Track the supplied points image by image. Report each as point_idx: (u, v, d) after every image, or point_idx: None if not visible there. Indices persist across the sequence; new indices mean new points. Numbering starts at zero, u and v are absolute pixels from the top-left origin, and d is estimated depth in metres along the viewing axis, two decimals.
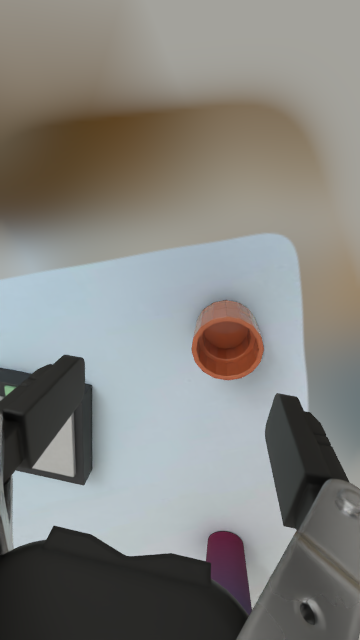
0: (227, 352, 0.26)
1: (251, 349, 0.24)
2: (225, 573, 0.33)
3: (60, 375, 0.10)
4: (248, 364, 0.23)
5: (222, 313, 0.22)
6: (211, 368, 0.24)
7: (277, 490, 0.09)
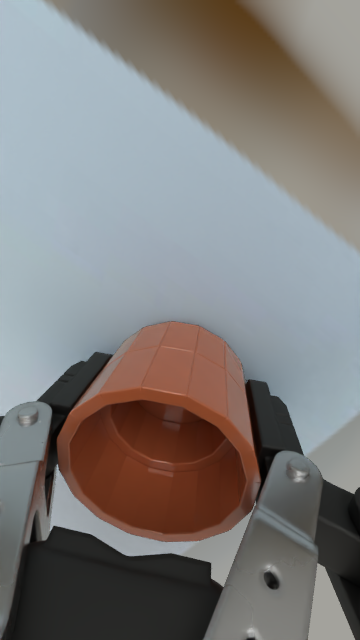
0: (144, 426, 0.12)
1: (193, 470, 0.10)
2: None
3: (96, 371, 0.10)
4: (167, 512, 0.09)
5: (217, 390, 0.07)
6: (85, 466, 0.09)
7: None
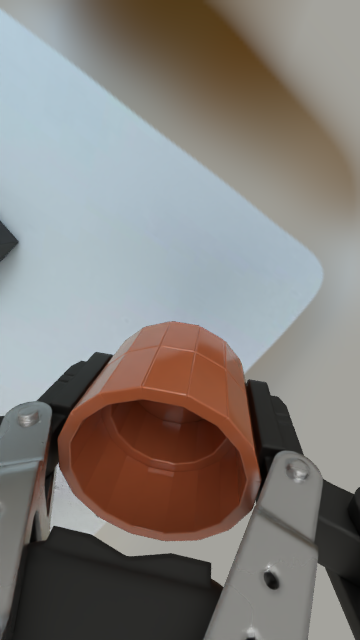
0: (145, 425, 0.12)
1: (193, 469, 0.10)
2: None
3: (96, 371, 0.10)
4: (168, 512, 0.09)
5: (217, 390, 0.07)
6: (86, 466, 0.09)
7: None
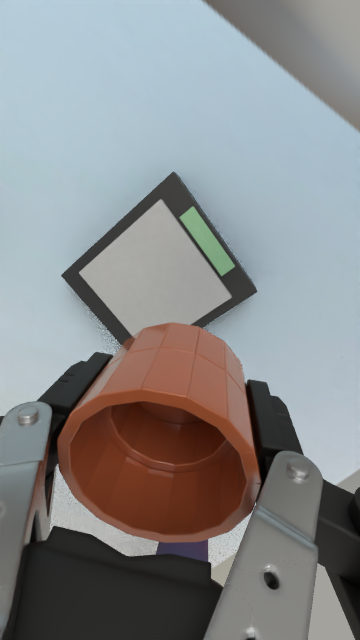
0: (144, 426, 0.12)
1: (193, 471, 0.10)
2: None
3: (96, 371, 0.10)
4: (168, 513, 0.09)
5: (217, 392, 0.07)
6: (86, 467, 0.09)
7: None
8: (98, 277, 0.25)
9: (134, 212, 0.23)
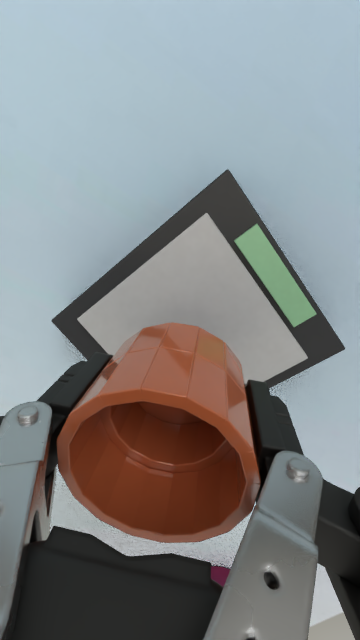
0: (144, 426, 0.12)
1: (193, 471, 0.10)
2: None
3: (96, 371, 0.10)
4: (167, 513, 0.09)
5: (217, 392, 0.07)
6: (85, 467, 0.09)
7: None
8: (106, 326, 0.17)
9: (162, 232, 0.15)
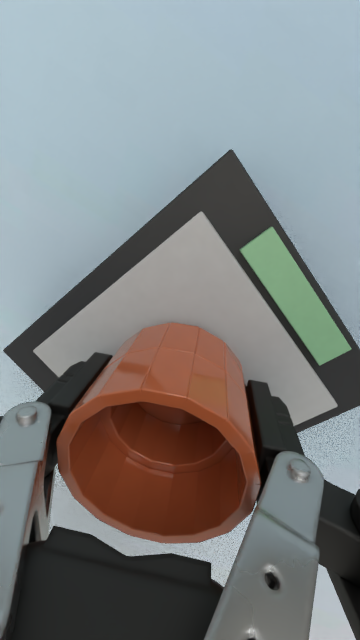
0: (144, 427, 0.12)
1: (193, 471, 0.10)
2: None
3: (95, 371, 0.10)
4: (167, 514, 0.09)
5: (217, 392, 0.07)
6: (85, 468, 0.09)
7: None
8: (70, 360, 0.13)
9: (141, 238, 0.11)
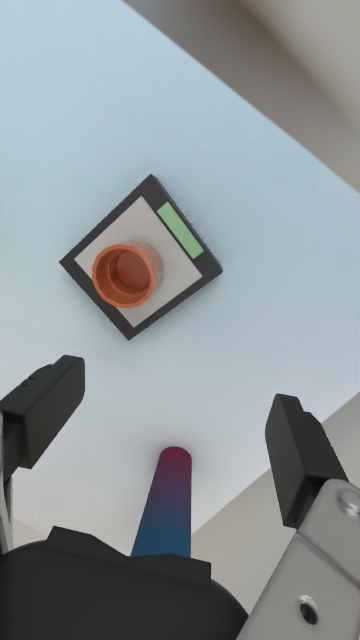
0: (122, 286, 0.28)
1: (140, 295, 0.27)
2: (183, 478, 0.36)
3: (60, 375, 0.10)
4: (129, 302, 0.26)
5: (141, 249, 0.24)
6: (100, 283, 0.25)
7: (277, 490, 0.09)
8: (90, 262, 0.29)
9: (120, 207, 0.27)
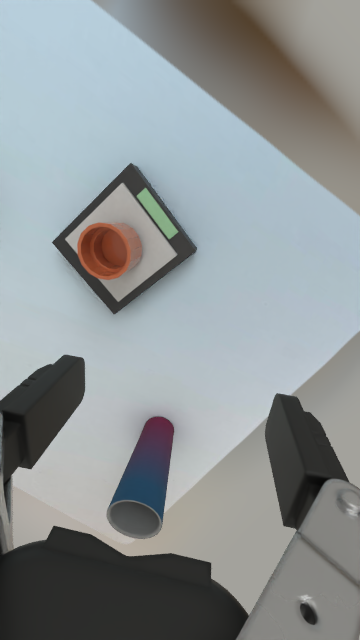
0: (106, 262, 0.32)
1: None
2: (163, 442, 0.40)
3: (60, 375, 0.10)
4: (110, 275, 0.29)
5: (120, 227, 0.28)
6: (85, 258, 0.29)
7: (277, 491, 0.09)
8: None
9: (104, 193, 0.31)
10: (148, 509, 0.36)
